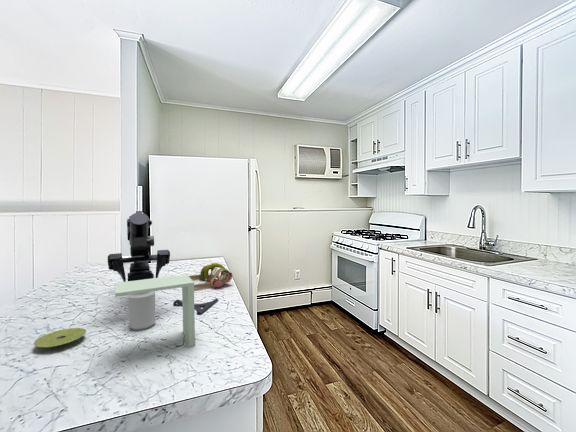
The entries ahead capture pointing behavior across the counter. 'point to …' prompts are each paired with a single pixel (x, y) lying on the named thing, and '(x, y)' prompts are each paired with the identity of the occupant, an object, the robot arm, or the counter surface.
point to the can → (141, 310)
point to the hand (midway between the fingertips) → (141, 280)
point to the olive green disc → (60, 337)
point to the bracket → (198, 306)
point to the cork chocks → (202, 285)
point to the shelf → (164, 284)
